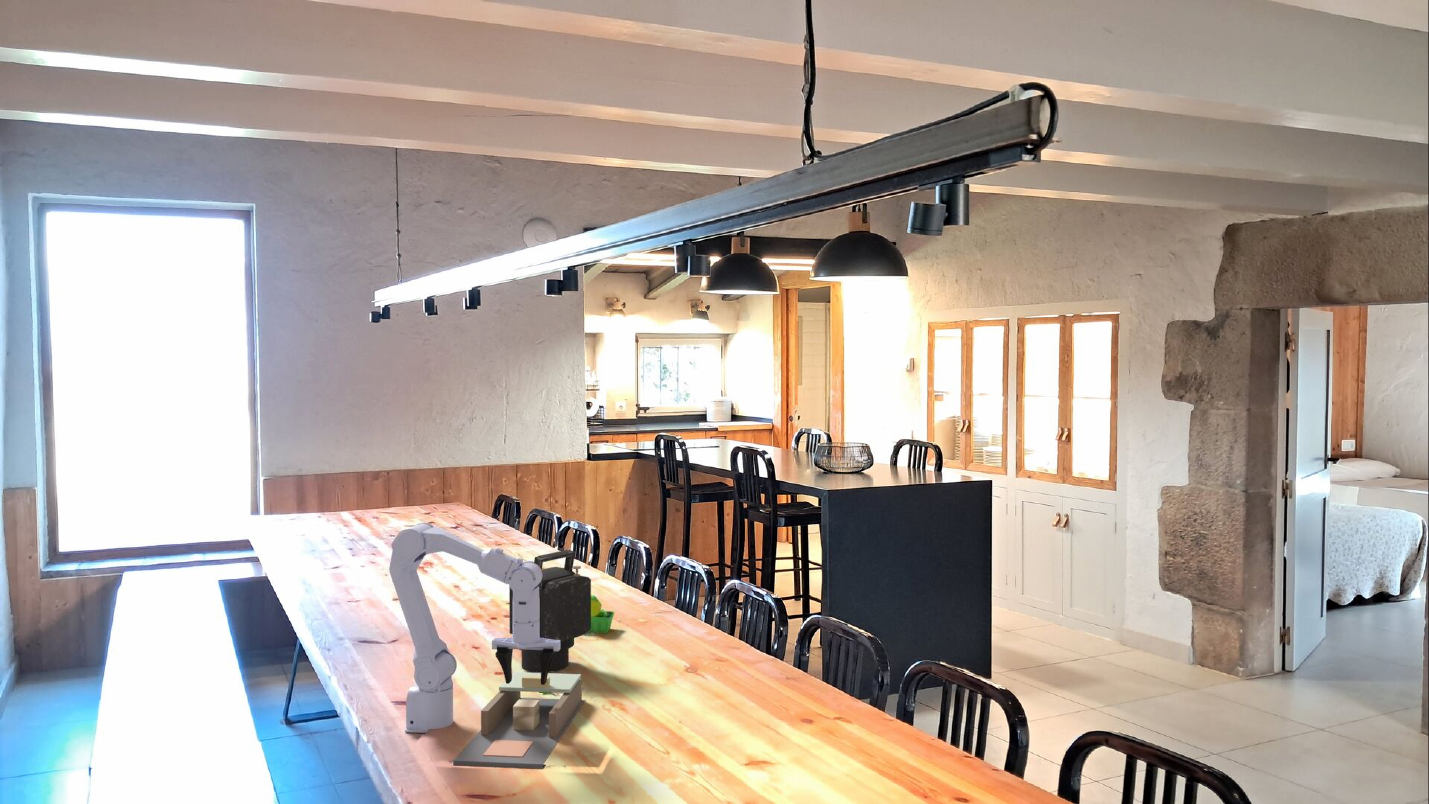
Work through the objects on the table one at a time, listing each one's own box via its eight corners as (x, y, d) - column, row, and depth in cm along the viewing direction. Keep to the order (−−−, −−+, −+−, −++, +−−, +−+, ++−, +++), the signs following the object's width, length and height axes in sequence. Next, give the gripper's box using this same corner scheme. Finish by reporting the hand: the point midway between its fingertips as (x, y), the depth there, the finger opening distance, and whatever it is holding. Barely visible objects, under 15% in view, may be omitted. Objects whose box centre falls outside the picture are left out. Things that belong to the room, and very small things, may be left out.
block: (513, 729, 215) (513, 706, 215) (519, 722, 219) (519, 699, 219) (533, 730, 215) (533, 707, 214) (539, 722, 219) (539, 700, 219)
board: (453, 765, 198) (453, 734, 198) (510, 701, 236) (509, 675, 236) (543, 769, 196) (543, 738, 196) (585, 704, 234) (585, 678, 234)
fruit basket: (615, 627, 303) (615, 590, 302) (609, 635, 294) (609, 597, 294) (577, 626, 304) (577, 589, 303) (570, 634, 295) (570, 596, 295)
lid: (498, 690, 224) (498, 678, 224) (513, 675, 235) (513, 663, 235) (569, 693, 222) (569, 680, 222) (580, 677, 233) (580, 665, 233)
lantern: (545, 654, 275) (544, 544, 274) (594, 665, 264) (594, 551, 263) (503, 667, 262) (503, 552, 261) (553, 680, 252) (553, 560, 251)
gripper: (487, 623, 213) (487, 687, 213) (554, 625, 212) (554, 689, 212) (497, 615, 220) (497, 677, 220) (562, 617, 219) (562, 679, 219)
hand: (526, 682), depth 217 cm, fingers open, 7 cm apart
